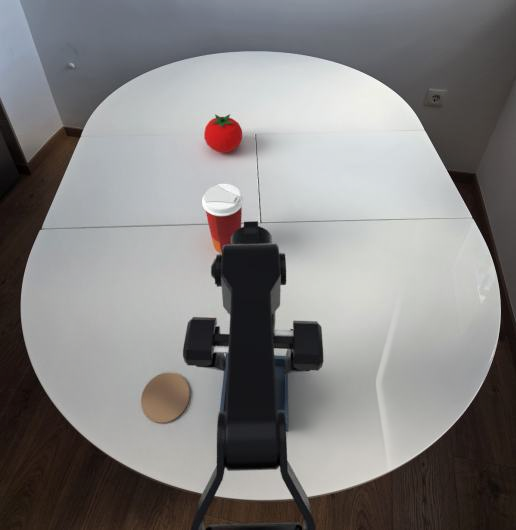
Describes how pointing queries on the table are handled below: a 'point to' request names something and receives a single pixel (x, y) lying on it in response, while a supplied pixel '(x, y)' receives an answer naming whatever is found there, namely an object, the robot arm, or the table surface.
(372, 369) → the table surface
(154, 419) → the coaster
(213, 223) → the coffee cup
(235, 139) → the tomato
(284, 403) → the crate
